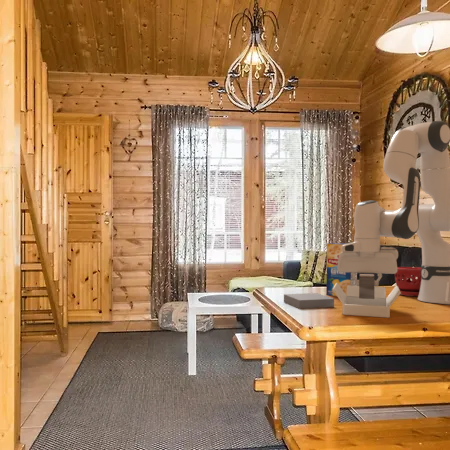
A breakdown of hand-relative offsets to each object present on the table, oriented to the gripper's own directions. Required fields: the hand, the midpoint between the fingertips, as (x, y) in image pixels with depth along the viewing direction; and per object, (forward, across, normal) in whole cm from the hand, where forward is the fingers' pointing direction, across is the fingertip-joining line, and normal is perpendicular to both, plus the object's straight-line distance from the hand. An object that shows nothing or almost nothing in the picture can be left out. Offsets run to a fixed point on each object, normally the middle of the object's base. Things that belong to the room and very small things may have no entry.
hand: (366, 285), depth 166 cm
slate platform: (+9, +21, -6) cm, 24 cm away
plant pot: (+10, -18, -45) cm, 49 cm away
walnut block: (+4, 0, 0) cm, 4 cm away
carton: (+9, 0, -1) cm, 9 cm away
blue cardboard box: (+10, +10, -34) cm, 36 cm away
